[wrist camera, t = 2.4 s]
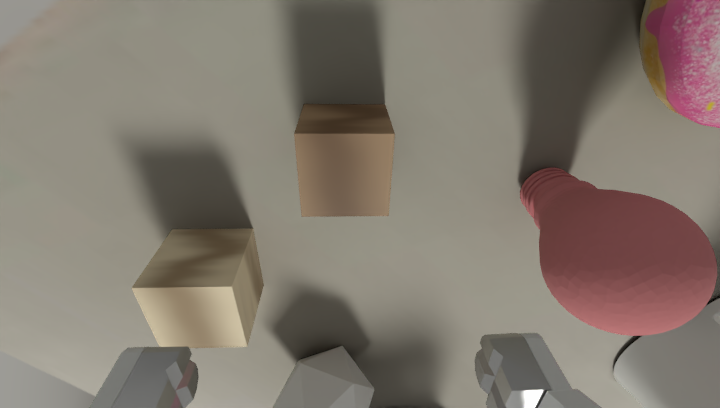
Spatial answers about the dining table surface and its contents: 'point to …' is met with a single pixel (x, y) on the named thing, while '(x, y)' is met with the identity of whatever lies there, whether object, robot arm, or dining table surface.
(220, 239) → the oak cube
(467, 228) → the dining table surface
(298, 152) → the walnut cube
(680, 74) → the donut
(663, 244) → the light bulb
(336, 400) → the die
